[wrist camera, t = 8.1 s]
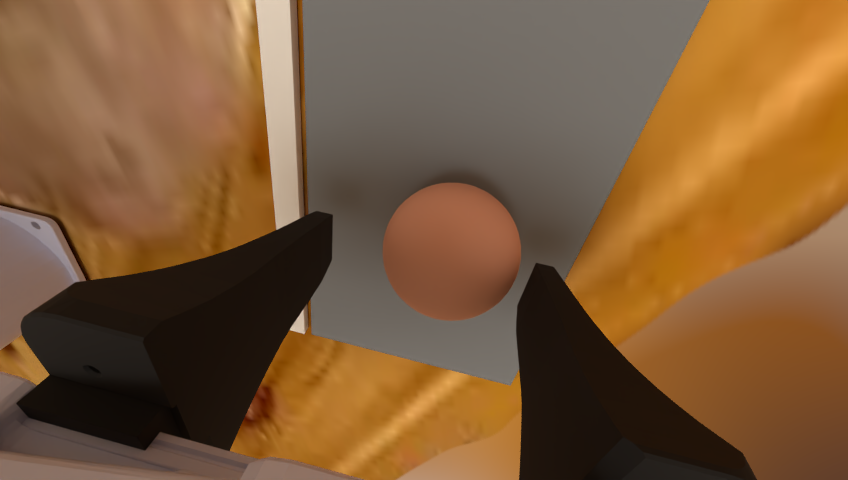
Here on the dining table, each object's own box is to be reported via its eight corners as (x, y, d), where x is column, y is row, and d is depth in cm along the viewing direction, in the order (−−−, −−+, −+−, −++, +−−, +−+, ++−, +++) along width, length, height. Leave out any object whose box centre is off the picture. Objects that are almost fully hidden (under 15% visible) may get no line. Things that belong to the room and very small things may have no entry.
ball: (375, 258, 16) (377, 350, 12) (387, 152, 13) (394, 228, 9) (481, 263, 17) (515, 351, 13) (513, 166, 14) (568, 240, 10)
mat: (289, 322, 22) (285, 328, 21) (252, -145, 10) (242, -151, 10) (510, 379, 21) (510, 386, 21) (731, -57, 10) (742, -59, 9)
